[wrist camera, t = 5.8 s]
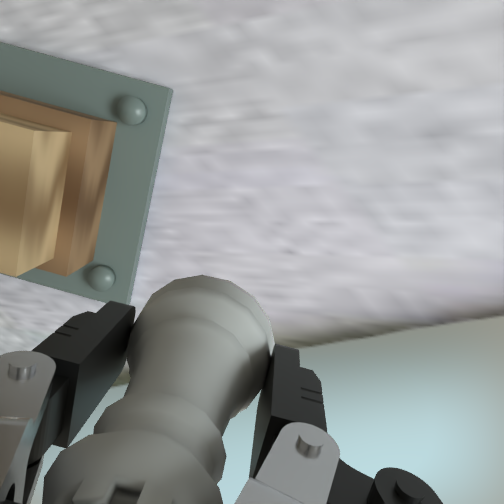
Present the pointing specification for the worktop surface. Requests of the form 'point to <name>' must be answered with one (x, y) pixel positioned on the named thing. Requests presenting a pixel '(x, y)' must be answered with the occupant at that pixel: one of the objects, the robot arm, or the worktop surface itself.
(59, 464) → the rook chess piece
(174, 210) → the worktop surface
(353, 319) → the worktop surface
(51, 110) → the stepped wooden plinth
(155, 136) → the baseplate
